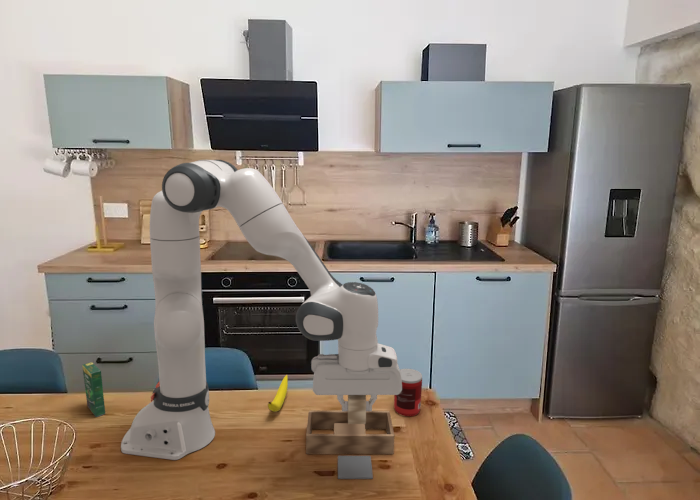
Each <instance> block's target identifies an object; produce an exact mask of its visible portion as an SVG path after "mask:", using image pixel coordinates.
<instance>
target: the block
mask: <svg viewBox="0 0 700 500" xmlns="http://www.w3.org/2000/svg"><path fill="white" fill-rule="evenodd" d="M347 401H348V424H366V401H367V395H347Z"/></svg>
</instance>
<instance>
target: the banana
mask: <svg viewBox="0 0 700 500" xmlns="http://www.w3.org/2000/svg"><path fill="white" fill-rule="evenodd" d="M288 382H289V378H288V374H286V375H285V376H284V377H283V379H282V381H281V383H280V384H279V387H278V389H277V392H276V394H275V396H274V398H273V400H272V401H268V404H267V408H268V409H269V411H272V412H279V411H280V410H281V409H282V407H283V404H284V402H285V398H286V396H287V392H288V386H289V385H288Z"/></svg>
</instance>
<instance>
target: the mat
mask: <svg viewBox="0 0 700 500" xmlns="http://www.w3.org/2000/svg"><path fill="white" fill-rule="evenodd" d="M373 478H374V474H373V466H372V456H371V455H337V479H338V480H373Z"/></svg>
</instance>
